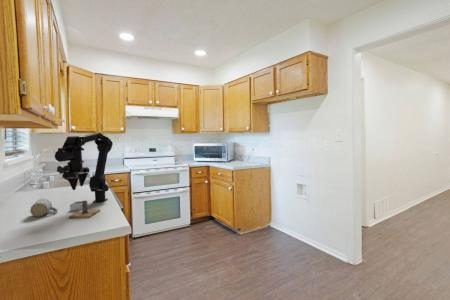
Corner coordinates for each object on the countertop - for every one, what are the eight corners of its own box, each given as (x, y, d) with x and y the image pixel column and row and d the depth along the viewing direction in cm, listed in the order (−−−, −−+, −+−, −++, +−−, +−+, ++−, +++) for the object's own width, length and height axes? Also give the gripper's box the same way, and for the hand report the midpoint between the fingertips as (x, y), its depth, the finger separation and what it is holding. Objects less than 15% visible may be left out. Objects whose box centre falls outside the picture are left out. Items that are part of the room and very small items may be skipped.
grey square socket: (76, 207, 132) (76, 201, 131) (87, 207, 132) (87, 201, 132) (70, 210, 126) (69, 204, 125) (81, 210, 126) (81, 203, 126)
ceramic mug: (29, 218, 114) (28, 203, 114) (34, 214, 121) (33, 199, 121) (55, 215, 119) (55, 200, 118) (59, 211, 126) (58, 197, 126)
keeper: (80, 211, 123) (79, 198, 123) (100, 211, 124) (99, 198, 123) (68, 218, 113) (68, 204, 113) (90, 217, 114) (89, 203, 113)
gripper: (67, 158, 134) (69, 185, 135) (49, 162, 115) (52, 193, 116) (88, 157, 136) (90, 184, 137) (74, 161, 117) (76, 191, 118)
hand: (77, 188), depth 127 cm, fingers open, 9 cm apart
